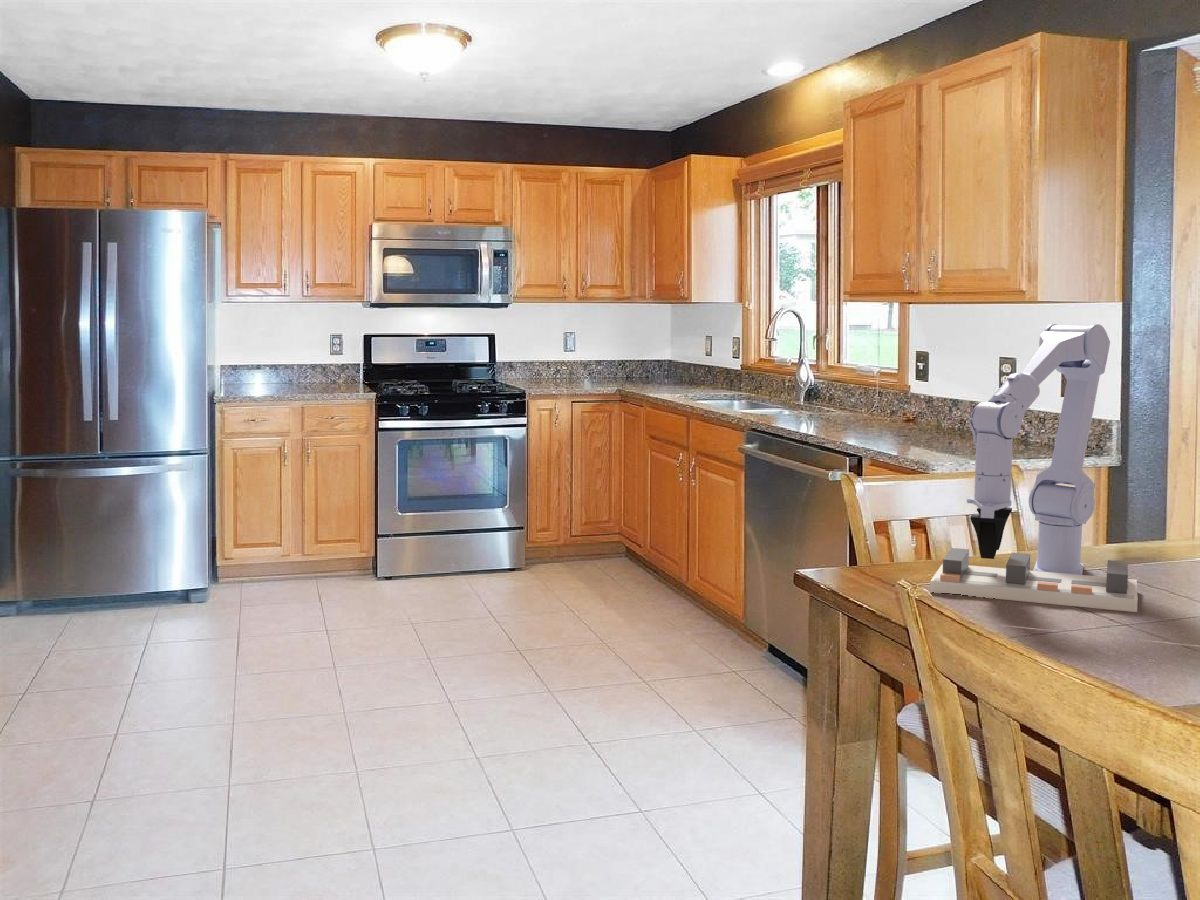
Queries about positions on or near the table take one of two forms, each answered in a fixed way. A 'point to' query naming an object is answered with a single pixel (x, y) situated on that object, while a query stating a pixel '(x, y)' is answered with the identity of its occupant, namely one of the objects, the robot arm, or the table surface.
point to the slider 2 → (1117, 576)
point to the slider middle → (1018, 568)
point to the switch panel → (1037, 588)
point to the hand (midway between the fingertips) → (990, 553)
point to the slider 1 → (956, 561)
